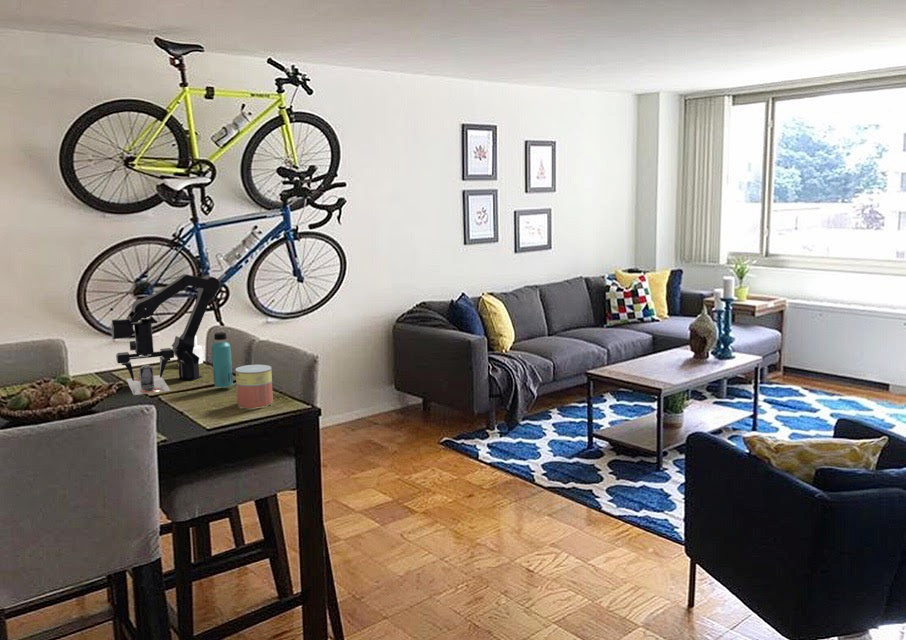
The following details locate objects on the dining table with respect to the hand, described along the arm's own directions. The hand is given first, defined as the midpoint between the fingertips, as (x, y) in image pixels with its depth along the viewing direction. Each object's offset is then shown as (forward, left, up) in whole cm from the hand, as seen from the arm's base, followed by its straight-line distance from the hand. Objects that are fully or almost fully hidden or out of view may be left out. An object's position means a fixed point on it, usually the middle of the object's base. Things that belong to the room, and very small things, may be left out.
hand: (147, 379), depth 274 cm
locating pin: (0, 0, -2) cm, 2 cm away
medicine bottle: (+4, -31, -2) cm, 32 cm away
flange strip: (-1, +1, -2) cm, 2 cm away
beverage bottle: (-31, -1, -2) cm, 31 cm away
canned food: (-52, +13, -2) cm, 53 cm away
